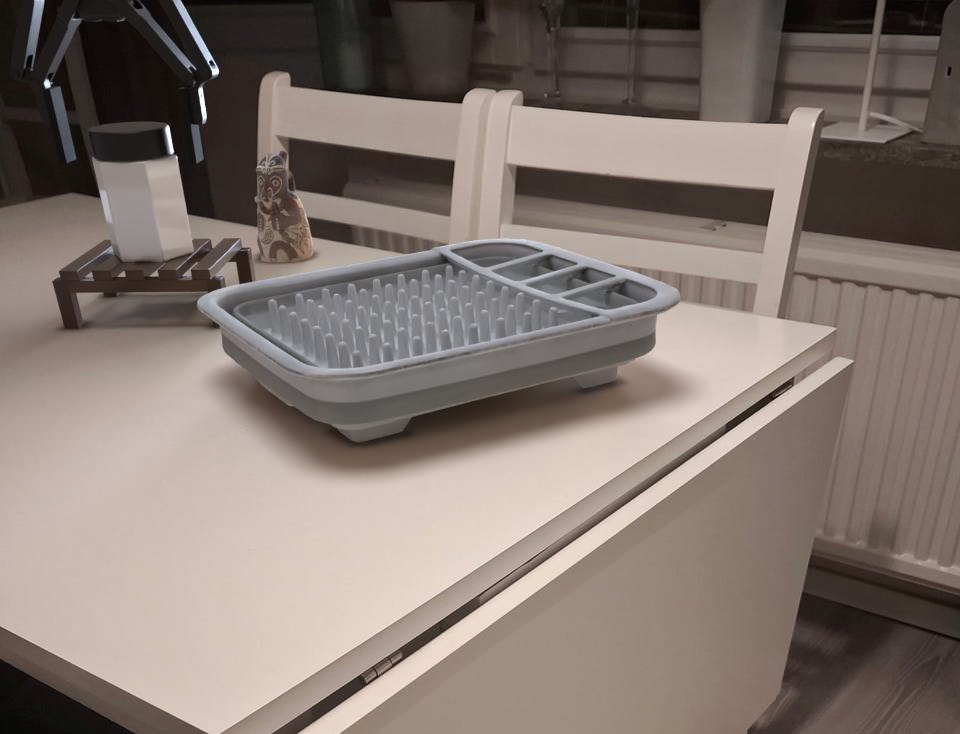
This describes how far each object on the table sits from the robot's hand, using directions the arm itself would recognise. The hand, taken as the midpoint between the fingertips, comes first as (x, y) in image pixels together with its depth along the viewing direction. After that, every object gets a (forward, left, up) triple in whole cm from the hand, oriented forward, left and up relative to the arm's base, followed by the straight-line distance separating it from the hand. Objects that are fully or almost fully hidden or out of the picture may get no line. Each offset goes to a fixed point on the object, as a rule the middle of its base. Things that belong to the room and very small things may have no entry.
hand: (132, 162), depth 104 cm
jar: (0, 0, -9) cm, 9 cm away
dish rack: (+33, -23, -15) cm, 43 cm away
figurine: (+9, +24, -15) cm, 30 cm away
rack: (0, 0, -15) cm, 15 cm away
